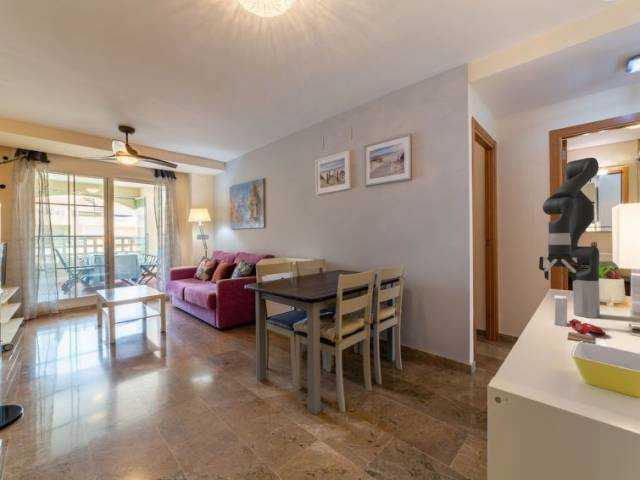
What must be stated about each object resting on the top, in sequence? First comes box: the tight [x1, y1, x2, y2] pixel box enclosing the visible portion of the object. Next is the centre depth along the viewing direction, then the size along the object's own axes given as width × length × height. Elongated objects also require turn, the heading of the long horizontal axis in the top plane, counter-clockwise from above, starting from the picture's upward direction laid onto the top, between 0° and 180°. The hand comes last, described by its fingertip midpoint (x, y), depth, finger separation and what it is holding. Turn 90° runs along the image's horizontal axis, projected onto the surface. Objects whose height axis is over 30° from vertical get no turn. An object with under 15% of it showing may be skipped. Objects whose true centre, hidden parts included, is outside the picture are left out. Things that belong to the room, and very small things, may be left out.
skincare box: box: [553, 294, 568, 327], centre depth 123 cm, size 6×4×12 cm
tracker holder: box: [567, 318, 606, 335], centre depth 112 cm, size 12×4×10 cm
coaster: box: [567, 331, 594, 344], centre depth 106 cm, size 9×7×1 cm
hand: (560, 280), depth 123 cm, fingers open, 8 cm apart
